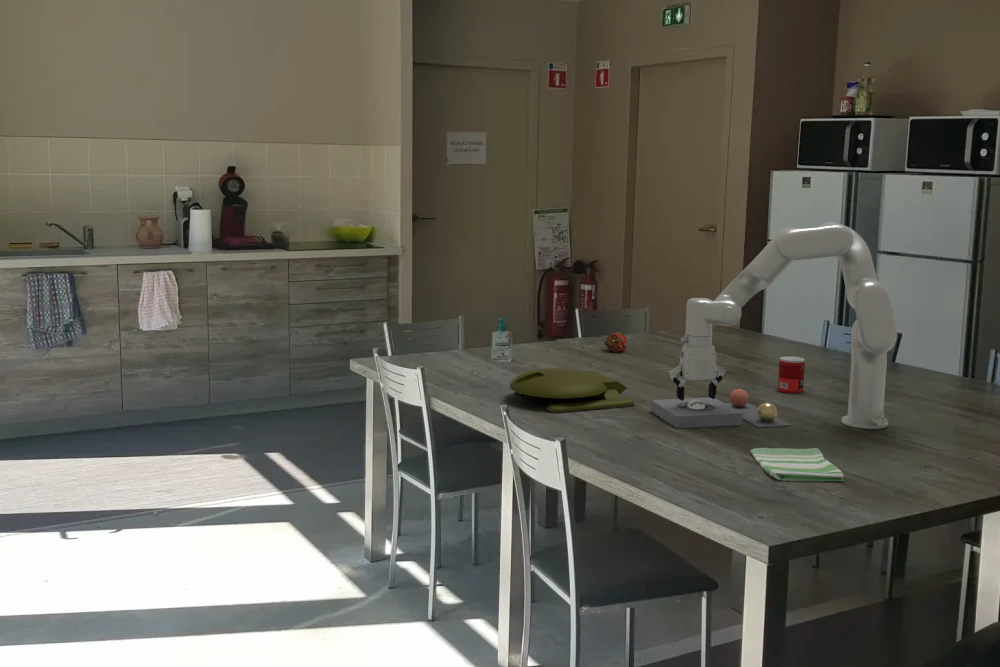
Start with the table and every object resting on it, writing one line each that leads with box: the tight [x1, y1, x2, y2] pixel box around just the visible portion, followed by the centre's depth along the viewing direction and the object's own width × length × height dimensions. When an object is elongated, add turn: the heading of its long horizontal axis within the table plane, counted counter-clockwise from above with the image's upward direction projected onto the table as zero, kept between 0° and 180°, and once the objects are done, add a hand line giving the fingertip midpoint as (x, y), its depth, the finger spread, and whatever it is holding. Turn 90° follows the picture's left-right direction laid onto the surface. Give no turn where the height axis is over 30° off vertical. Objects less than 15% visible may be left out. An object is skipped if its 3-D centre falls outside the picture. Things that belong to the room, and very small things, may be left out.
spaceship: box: [509, 367, 636, 413], centre depth 319 cm, size 35×31×10 cm
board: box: [650, 396, 743, 429], centre depth 297 cm, size 20×20×4 cm
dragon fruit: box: [603, 331, 628, 353], centre depth 401 cm, size 8×8×12 cm
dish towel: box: [749, 447, 845, 483], centre depth 250 cm, size 18×23×3 cm
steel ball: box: [687, 400, 706, 409], centre depth 297 cm, size 6×6×6 cm
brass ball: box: [757, 402, 778, 422], centre depth 292 cm, size 6×6×6 cm
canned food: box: [777, 356, 806, 395], centre depth 332 cm, size 8×8×11 cm
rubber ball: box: [729, 388, 749, 407], centre depth 309 cm, size 6×6×6 cm
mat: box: [724, 402, 792, 429], centre depth 301 cm, size 28×10×1 cm, turn 13°
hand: (696, 398), depth 296 cm, fingers open, 9 cm apart
